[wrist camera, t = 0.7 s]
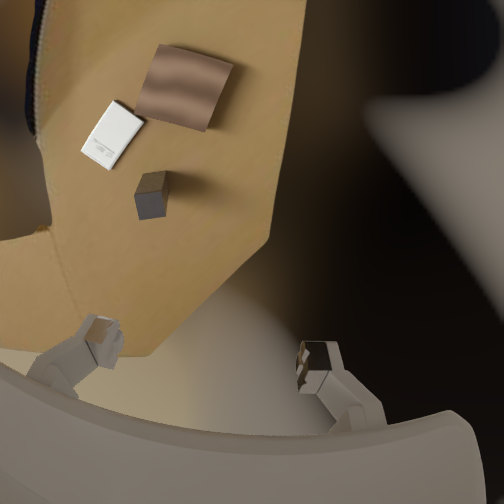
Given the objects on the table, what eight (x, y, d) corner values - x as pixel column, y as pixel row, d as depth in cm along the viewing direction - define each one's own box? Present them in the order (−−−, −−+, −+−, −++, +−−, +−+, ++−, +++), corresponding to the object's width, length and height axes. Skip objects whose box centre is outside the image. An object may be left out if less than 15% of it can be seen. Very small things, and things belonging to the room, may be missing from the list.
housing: (143, 173, 52) (134, 195, 43) (165, 170, 53) (161, 191, 44) (146, 195, 55) (139, 220, 46) (168, 191, 56) (165, 216, 47)
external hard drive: (145, 121, 46) (111, 168, 50) (114, 99, 41) (82, 148, 45) (144, 122, 44) (109, 171, 48) (112, 100, 40) (80, 151, 44)
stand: (161, 46, 37) (159, 43, 34) (230, 65, 42) (233, 64, 39) (137, 111, 44) (133, 114, 41) (203, 128, 49) (204, 132, 46)
